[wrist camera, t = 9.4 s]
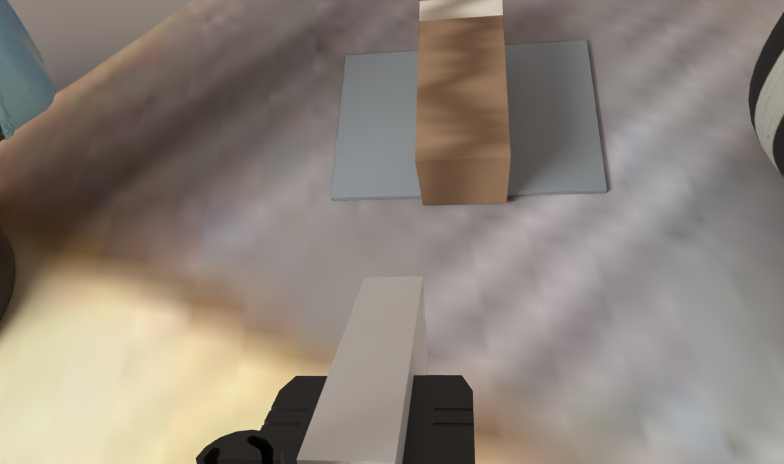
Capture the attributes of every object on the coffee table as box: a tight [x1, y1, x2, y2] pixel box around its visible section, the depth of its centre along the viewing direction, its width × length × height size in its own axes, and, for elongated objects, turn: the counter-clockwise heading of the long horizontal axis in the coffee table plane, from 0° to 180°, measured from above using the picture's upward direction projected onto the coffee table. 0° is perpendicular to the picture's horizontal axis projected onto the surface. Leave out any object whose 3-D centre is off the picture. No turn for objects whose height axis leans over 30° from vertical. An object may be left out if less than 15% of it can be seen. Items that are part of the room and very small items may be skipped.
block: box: [415, 0, 511, 205], centre depth 42 cm, size 6×6×14 cm
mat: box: [331, 40, 607, 200], centre depth 45 cm, size 20×14×1 cm
